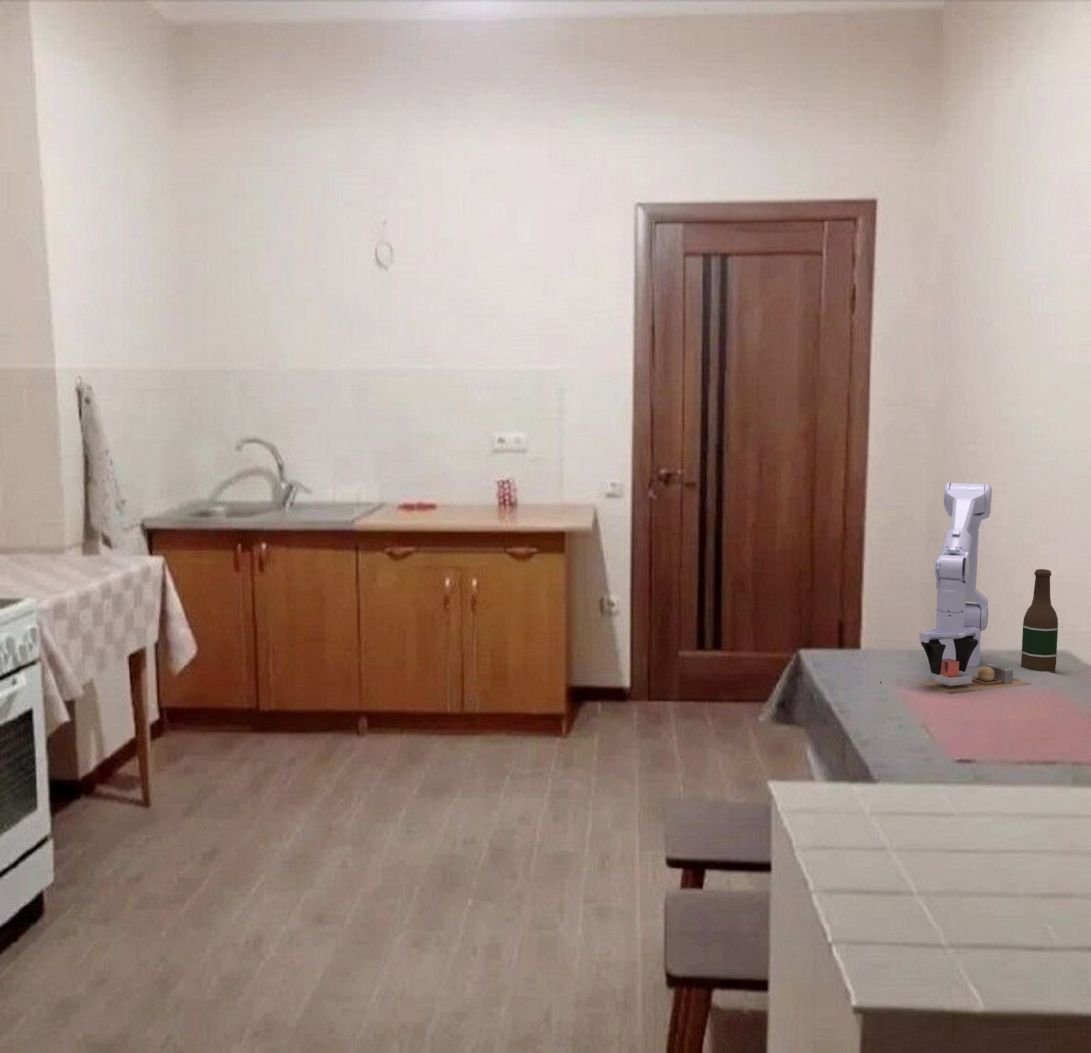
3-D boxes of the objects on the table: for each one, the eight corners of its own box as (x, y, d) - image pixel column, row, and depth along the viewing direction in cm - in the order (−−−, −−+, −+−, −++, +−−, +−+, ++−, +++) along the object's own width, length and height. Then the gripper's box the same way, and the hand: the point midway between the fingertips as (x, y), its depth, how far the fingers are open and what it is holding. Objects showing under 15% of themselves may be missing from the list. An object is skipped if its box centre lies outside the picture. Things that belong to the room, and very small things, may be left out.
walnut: (973, 680, 244) (974, 665, 243) (986, 679, 245) (987, 663, 244) (985, 684, 240) (986, 668, 240) (998, 683, 242) (998, 667, 241)
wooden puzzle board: (918, 688, 242) (919, 669, 242) (997, 678, 250) (998, 660, 250) (950, 699, 233) (951, 680, 233) (1031, 689, 241) (1032, 670, 240)
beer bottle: (1049, 668, 259) (1054, 567, 257) (1061, 676, 252) (1066, 572, 249) (1015, 668, 260) (1019, 567, 257) (1026, 676, 252) (1031, 572, 250)
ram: (935, 681, 240) (936, 658, 240) (957, 678, 242) (958, 656, 242) (949, 686, 236) (950, 663, 236) (971, 683, 238) (972, 660, 238)
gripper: (936, 616, 231) (934, 679, 232) (990, 610, 236) (988, 673, 237) (913, 610, 237) (911, 672, 239) (967, 605, 242) (964, 665, 244)
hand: (948, 672), depth 238 cm, fingers open, 6 cm apart
